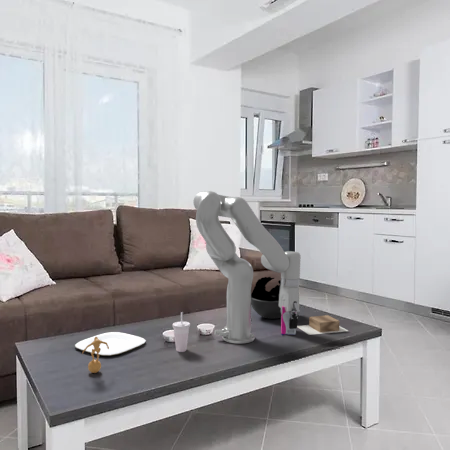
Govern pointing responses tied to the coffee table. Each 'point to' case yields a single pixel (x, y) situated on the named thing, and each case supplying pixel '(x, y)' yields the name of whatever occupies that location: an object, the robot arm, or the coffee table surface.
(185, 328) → the smoothie
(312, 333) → the board
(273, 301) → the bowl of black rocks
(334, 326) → the walnut block
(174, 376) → the coffee table surface
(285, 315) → the supplement box
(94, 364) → the figurine
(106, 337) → the plate
